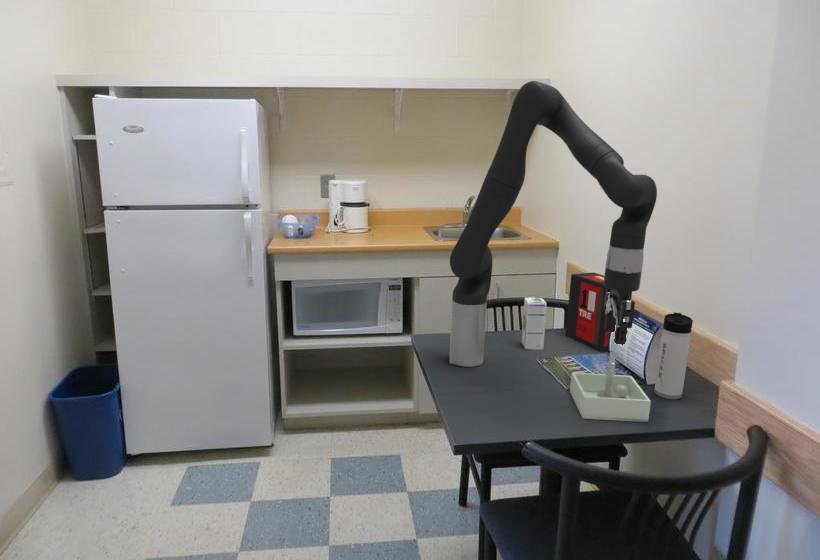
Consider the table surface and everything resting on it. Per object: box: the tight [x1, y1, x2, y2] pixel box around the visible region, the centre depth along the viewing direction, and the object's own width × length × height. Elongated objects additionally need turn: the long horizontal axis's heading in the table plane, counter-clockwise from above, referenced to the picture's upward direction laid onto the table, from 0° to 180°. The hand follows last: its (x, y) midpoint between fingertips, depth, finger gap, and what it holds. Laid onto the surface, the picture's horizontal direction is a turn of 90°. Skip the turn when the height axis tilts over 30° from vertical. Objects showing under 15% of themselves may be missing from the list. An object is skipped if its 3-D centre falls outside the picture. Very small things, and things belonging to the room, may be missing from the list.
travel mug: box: [653, 312, 694, 400], centre depth 140 cm, size 6×7×20 cm
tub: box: [569, 372, 652, 423], centre depth 134 cm, size 14×14×5 cm
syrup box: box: [521, 296, 547, 351], centre depth 171 cm, size 6×6×14 cm
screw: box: [597, 351, 619, 398], centre depth 133 cm, size 13×5×5 cm
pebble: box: [615, 385, 628, 398], centre depth 138 cm, size 3×3×3 cm
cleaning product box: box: [565, 272, 633, 354], centre depth 176 cm, size 16×9×20 cm, turn 24°
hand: (614, 337), depth 130 cm, fingers open, 8 cm apart
